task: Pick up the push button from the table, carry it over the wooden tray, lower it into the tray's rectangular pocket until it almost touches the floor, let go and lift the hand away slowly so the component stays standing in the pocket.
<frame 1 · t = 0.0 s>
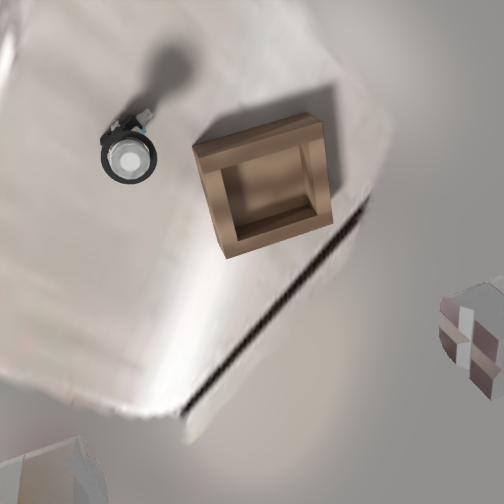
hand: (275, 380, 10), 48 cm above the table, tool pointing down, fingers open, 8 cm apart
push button: (127, 128, 54), on the table
wooden tray: (260, 180, 61), on the table
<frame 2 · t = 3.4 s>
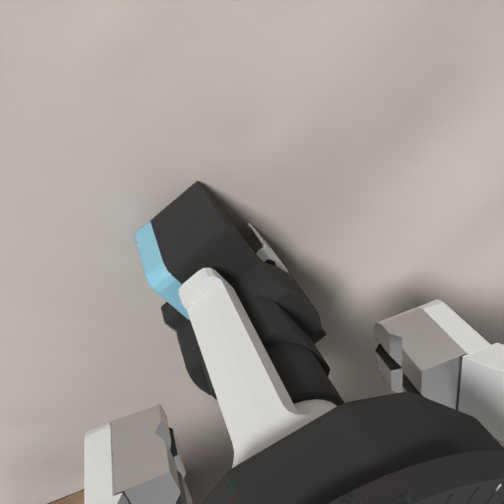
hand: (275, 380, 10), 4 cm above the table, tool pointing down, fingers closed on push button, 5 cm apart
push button: (226, 273, 14), on the table, touching gripper
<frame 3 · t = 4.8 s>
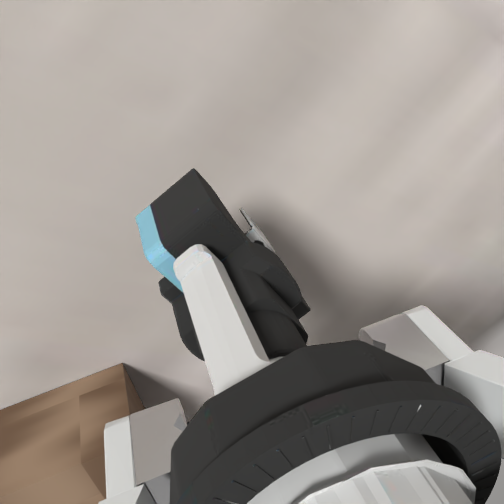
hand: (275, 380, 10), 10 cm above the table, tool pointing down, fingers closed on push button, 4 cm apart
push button: (221, 255, 15), point 5 cm above the table, touching gripper
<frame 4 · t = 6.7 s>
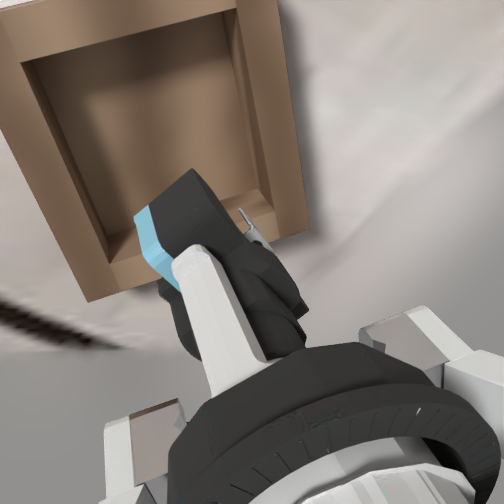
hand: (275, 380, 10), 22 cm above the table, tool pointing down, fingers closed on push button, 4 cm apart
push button: (219, 255, 15), point 16 cm above the table, touching gripper
wooden tray: (156, 124, 28), on the table
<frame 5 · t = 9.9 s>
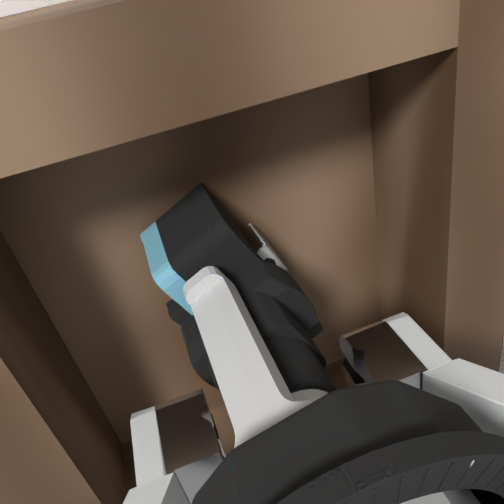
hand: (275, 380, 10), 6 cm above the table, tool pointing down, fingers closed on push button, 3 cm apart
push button: (228, 271, 14), point 1 cm above the table, touching gripper, wooden tray
wooden tray: (216, 253, 15), on the table
when the fingers open (6 cm above the table, at t = 10.0 s): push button stays where it is, resting on wooden tray.
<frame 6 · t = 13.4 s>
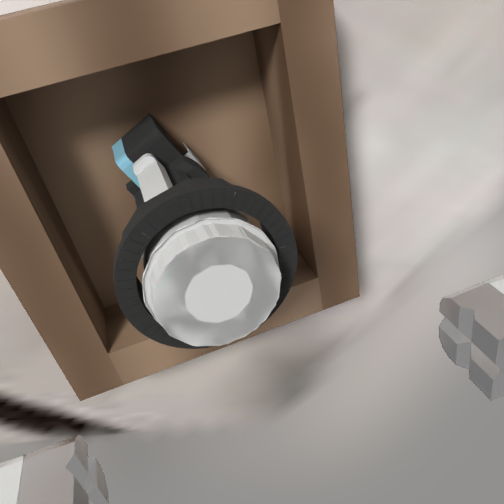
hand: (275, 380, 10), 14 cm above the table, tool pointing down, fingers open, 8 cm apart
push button: (173, 179, 21), point 1 cm above the table, touching wooden tray
wooden tray: (166, 169, 22), on the table
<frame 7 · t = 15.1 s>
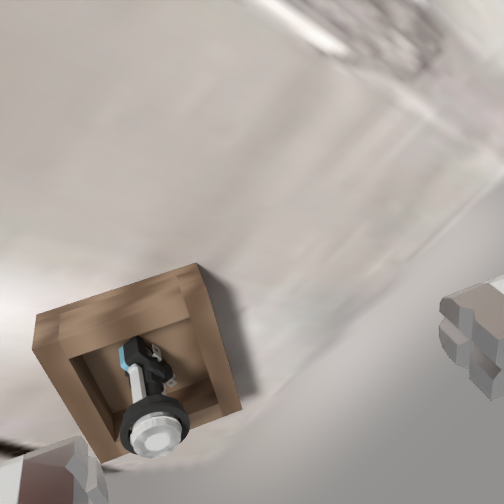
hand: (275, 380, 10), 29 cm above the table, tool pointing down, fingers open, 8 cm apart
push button: (147, 356, 44), point 1 cm above the table, touching wooden tray
wooden tray: (144, 349, 45), on the table
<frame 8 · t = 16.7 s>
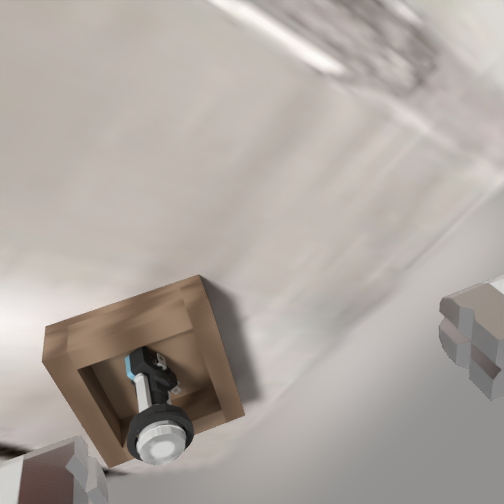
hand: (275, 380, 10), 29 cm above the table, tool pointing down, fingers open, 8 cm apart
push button: (153, 364, 46), point 1 cm above the table, touching wooden tray
wooden tray: (150, 358, 46), on the table
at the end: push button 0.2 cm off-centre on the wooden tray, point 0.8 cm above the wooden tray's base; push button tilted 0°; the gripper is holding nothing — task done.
